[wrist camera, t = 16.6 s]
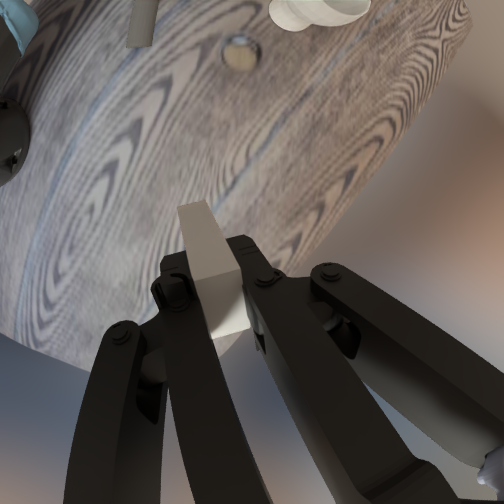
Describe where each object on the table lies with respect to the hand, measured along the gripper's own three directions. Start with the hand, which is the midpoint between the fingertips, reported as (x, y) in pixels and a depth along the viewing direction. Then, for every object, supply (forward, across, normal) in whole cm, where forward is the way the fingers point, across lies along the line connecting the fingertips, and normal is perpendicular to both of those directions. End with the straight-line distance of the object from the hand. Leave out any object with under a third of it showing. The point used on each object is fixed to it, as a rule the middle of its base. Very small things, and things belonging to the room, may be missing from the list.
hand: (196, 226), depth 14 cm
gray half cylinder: (+30, -1, +27) cm, 41 cm away
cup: (+30, +22, +22) cm, 43 cm away
